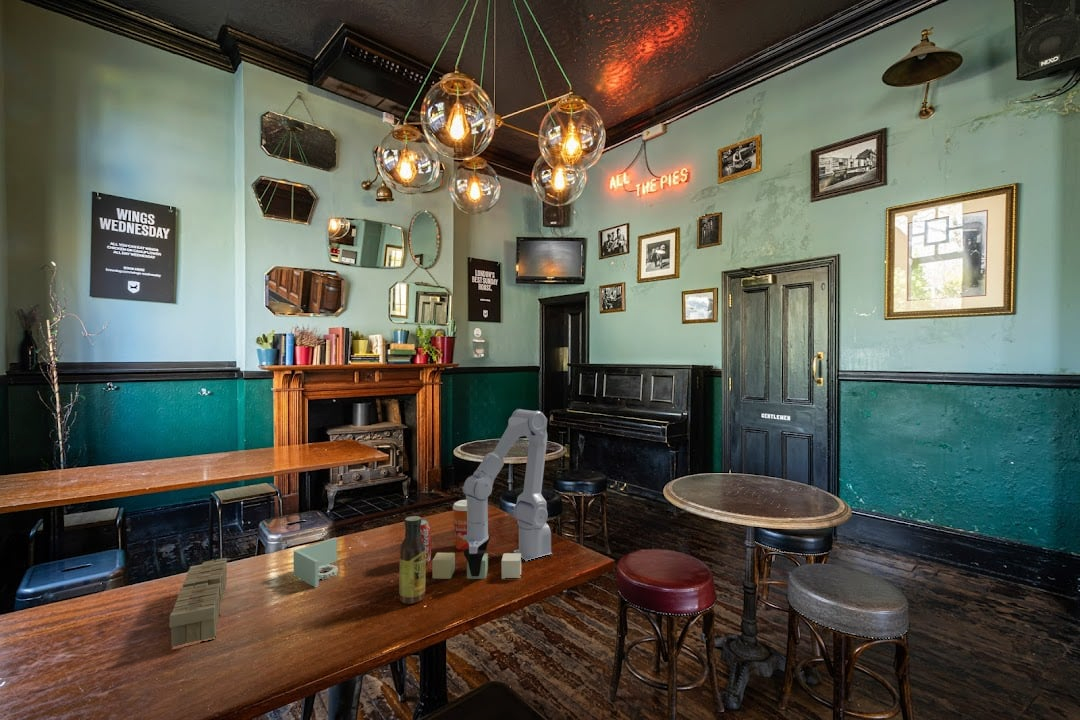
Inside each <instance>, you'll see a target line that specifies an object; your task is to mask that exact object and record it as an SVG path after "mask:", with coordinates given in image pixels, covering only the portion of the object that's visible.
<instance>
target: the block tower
mask: <svg viewBox="0 0 1080 720" xmlns="http://www.w3.org/2000/svg"><path fill="white" fill-rule="evenodd" d="M227 560H228V558H226V557H223V558H218V559H215V560H207V561H203V562H202V564H197V565H191V566H189V570H187V575H186V576H185V579H184V581H183V583H182V587H181V588H180V589H179V590H180V591H179V593H178V595H177V598H176V600H175V604H174V606H173V609H172V611H171V612H170V615H169V625H168V626H169V628H170V629H171V630H170V632H171V633H170V634H171V637H170V640H171V641H170V643H171V644H170V645H171V646H172V647H173V646H178V645H182V644H185V643H189V642H194V641H198V640H204V639H208V638H213V637H215V636H216V637H217V634H216V632H217V631H218V628H217V625H218V626H219V621H218V618H219V619H220V617H219V614H220V615H221V611H220V608H221V609H222V606H221V603H222V604H223V601H222V598H223V595H224V596H225V593H224V590H225V591H226V588H225V586H226V587H227V579H228V578H227V569H228V564H227V563H228V562H227ZM223 599H224V598H223ZM217 633H218V632H217ZM171 646H170V647H171Z"/></svg>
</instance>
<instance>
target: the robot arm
mask: <svg viewBox="0 0 1080 720" xmlns="http://www.w3.org/2000/svg"><path fill="white" fill-rule="evenodd" d="M507 422H508V424H507V427H506V429H505V430H504V433H503V434H502V436H501V438H500V439H499V441H498V443H497V444H496V447H495V448H494V450H493V451H492V452H488V453H487V454H486V455H484V456H483V457H482V460H481V463H480V464H479V465H478V467H477V469H476V470H475V471H474V472H473V475H470V476H468V477H467V478H466V480H465V481H464V483H463V486H462V487H461V488H462V492H463V494H464V495H465V500H467V535H463V540H467V542H468V544H469V549H465V550H463V556H464V557H465V559H466V562H467V561H468V564H469V569H470V573H471V576H479V574H480V569H481V562H482V558H483V555H484V553H487V547H488V544H489V542H490V540H491V535H489V531H488V530H489V527H488V526H489V521H488V519H489V517H488V516H489V515H488V514H489V508H488V507H489V501H488V500H489V499H488V498H489V496H490V495H491V494H492V491H493V486H494V482H495V480H496V478H497V476H498V474H499V473H500V472H501V470H502V468H503V467H504V465H505V462H504V458H505V457H506V455H507V454H508V453H509V451H510V450H511V448H513V446H514V444H515V443H516V442H517V440H519V438H521V437H526V438H527V440H528V441H529V442H528V446H527V447H528V448H527V457H526V458H527V459H526V467H525V476H524V482H523V483H524V484H523V492H521V493H520V494H519V495H518V496H517V498H516V503H515V505H514V508H513V517H514V518H515V520H517V525H518V549H515V550H513V553H521V558H522V559H521V560H523V559H524V560H525V561H524V560H523V561H524V562H529V561H528V560H530V561H532V560H531V559H534V560H536V559H535V558H538V557H542V556H545V555H550V554H552V555H553V553H552V532H551V528H550V526H549V524H548V523H547V521H548V515H549V514H548V510H547V505H548V504H547V500H546V499H545V498H544V496H543V494H542V491H543V490H542V488H543V479H544V472H545V471H544V470H545V463H546V462H545V460H546V453H547V444H548V432H547V427H548V426H547V425H548V418H547V417H546V416H545V414H544V413H543V412H542V411H540V410H529V409H521V408H516V410H514V411H513V412H512V414H511V416H510V417H509V418H508V421H507ZM550 556H551V555H550ZM542 558H543V557H542ZM538 559H539V558H538Z"/></svg>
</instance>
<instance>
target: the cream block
mask: <svg viewBox="0 0 1080 720" xmlns="http://www.w3.org/2000/svg"><path fill="white" fill-rule="evenodd" d="M520 575H521V576H522V559H521V553H514V552H512V553H511V552H506V553H503V554H502V558H501V580H506V579H505V578H520V579H521V576H520Z"/></svg>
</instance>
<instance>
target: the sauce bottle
mask: <svg viewBox="0 0 1080 720" xmlns="http://www.w3.org/2000/svg"><path fill="white" fill-rule="evenodd" d="M421 519H422V517H421V516H419V515H413V516H412V515H411V516H407V517H406V518H404V527H405V528H404V531H405V533H404V539H403V540H402V543H401V545H400V549H399V551H400V552H399V554H400V555H399V573H398V575H399V579H398V580H399V583H398V584H399V587H398V589H399V591H398V592H399V593H398V594H399V600H400V602H401V603H403V604H405V605H406V604H407V605H413V604H417V603H420V602H421V601H422V600H424V598H425V593H426V564H427V563H426V562H425V560H426V549H425V546H424V543H423V540H422V537H421Z"/></svg>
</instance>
